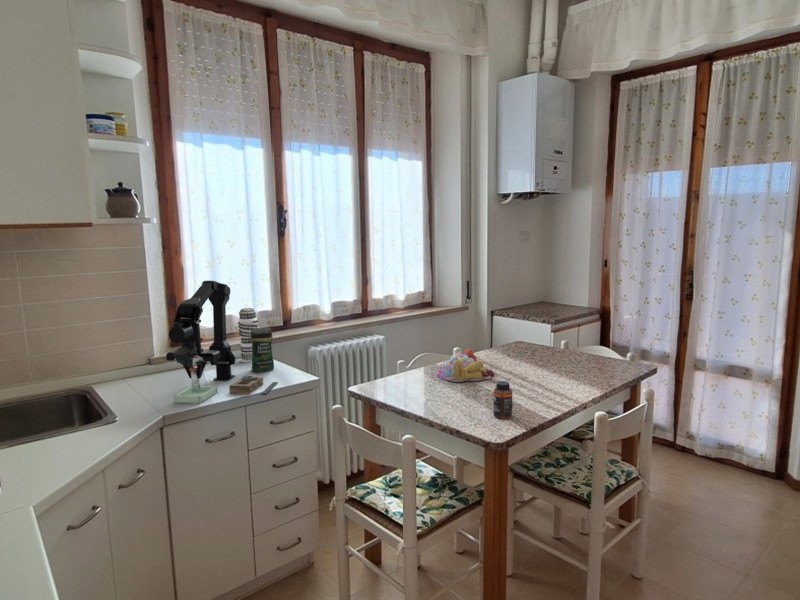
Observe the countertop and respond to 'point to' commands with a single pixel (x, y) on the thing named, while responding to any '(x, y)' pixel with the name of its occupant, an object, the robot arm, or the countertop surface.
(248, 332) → the black white patterned bottle
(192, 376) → the lock pin
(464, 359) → the colorful dessert plate
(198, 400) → the tray
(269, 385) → the strip
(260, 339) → the coffee jar
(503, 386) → the supplement bottle
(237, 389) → the block
